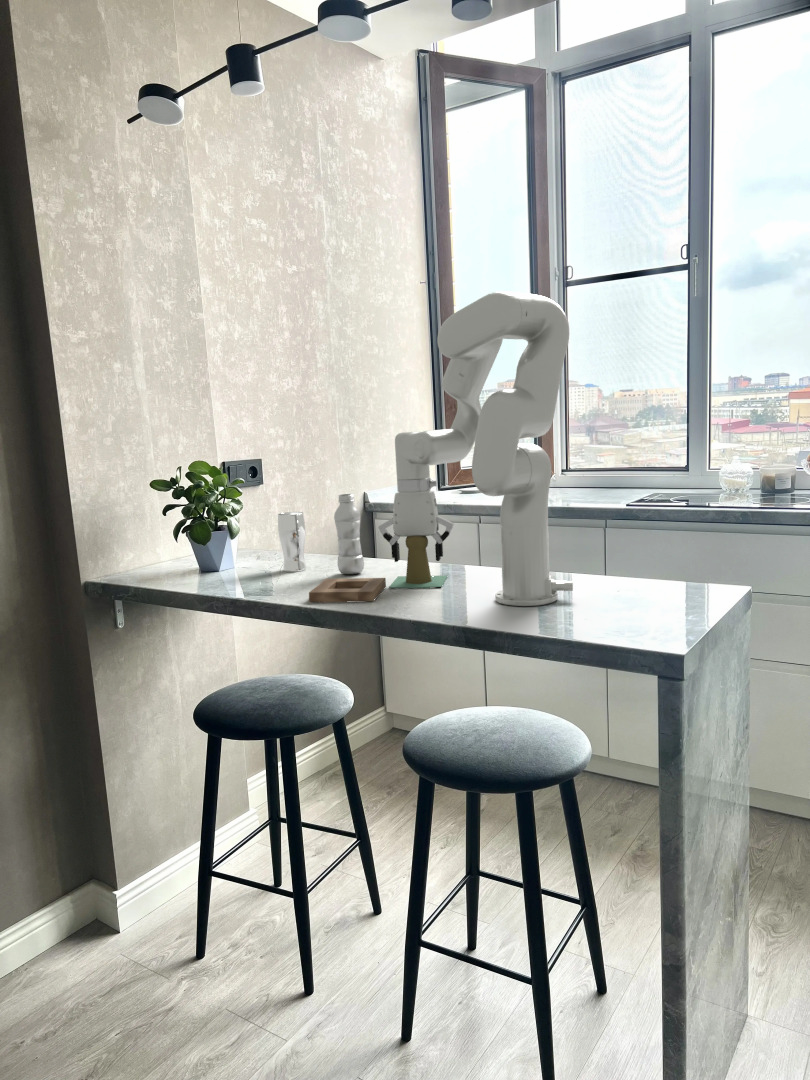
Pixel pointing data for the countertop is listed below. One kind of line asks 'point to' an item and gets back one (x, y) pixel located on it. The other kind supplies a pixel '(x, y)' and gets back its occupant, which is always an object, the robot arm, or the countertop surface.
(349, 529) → the plastic bottle
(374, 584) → the socket
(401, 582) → the mat
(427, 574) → the cork
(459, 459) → the robot arm
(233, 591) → the countertop surface
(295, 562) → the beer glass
